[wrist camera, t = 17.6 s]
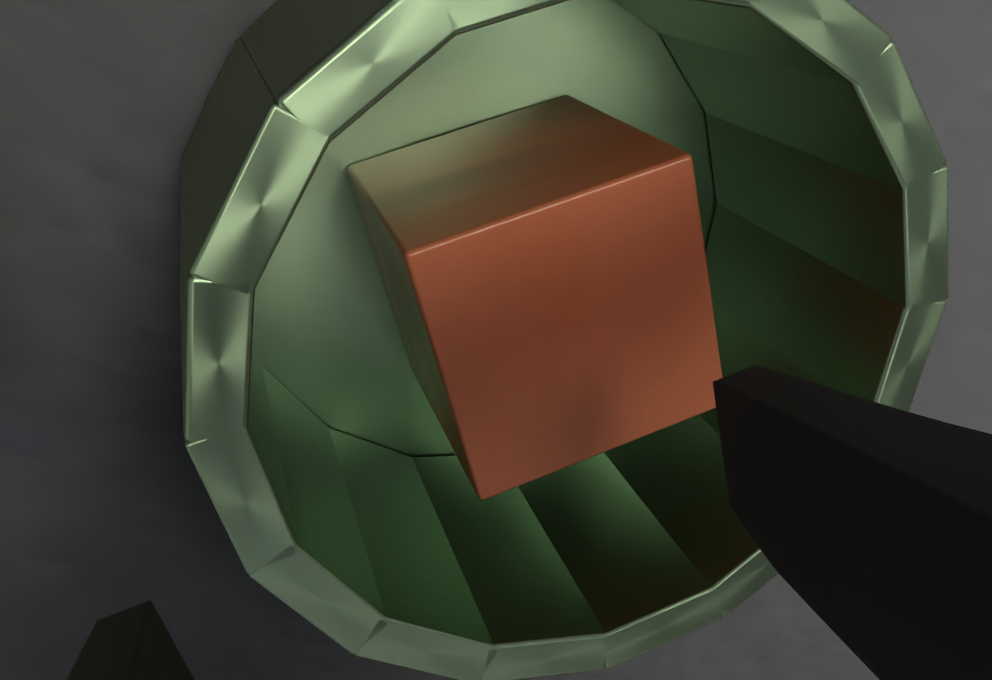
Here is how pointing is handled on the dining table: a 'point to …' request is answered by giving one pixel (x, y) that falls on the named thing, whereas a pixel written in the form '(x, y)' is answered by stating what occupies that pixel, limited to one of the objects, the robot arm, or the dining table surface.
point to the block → (545, 285)
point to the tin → (382, 358)
